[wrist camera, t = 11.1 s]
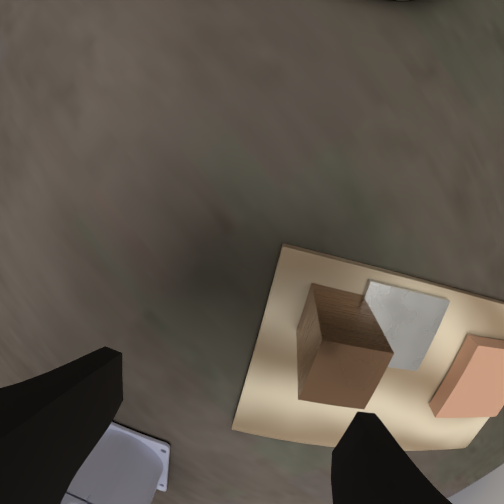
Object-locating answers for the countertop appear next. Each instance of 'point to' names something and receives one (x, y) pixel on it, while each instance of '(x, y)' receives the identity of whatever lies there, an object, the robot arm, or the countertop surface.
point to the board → (391, 384)
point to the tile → (473, 381)
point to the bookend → (361, 339)
